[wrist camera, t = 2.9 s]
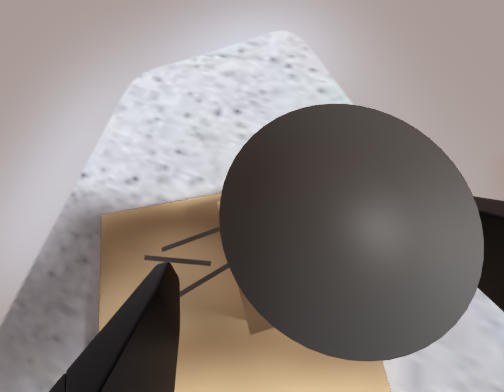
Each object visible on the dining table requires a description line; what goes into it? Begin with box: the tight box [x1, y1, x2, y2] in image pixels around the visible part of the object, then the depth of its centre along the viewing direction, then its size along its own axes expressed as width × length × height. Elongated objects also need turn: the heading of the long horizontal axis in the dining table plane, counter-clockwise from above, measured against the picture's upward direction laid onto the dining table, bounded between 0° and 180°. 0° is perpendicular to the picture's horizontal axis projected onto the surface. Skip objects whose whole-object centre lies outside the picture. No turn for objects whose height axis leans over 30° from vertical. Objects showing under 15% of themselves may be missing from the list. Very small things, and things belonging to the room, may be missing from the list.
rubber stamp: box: [217, 104, 484, 362], centre depth 9 cm, size 7×6×12 cm
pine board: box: [99, 193, 391, 392], centre depth 13 cm, size 20×16×2 cm
